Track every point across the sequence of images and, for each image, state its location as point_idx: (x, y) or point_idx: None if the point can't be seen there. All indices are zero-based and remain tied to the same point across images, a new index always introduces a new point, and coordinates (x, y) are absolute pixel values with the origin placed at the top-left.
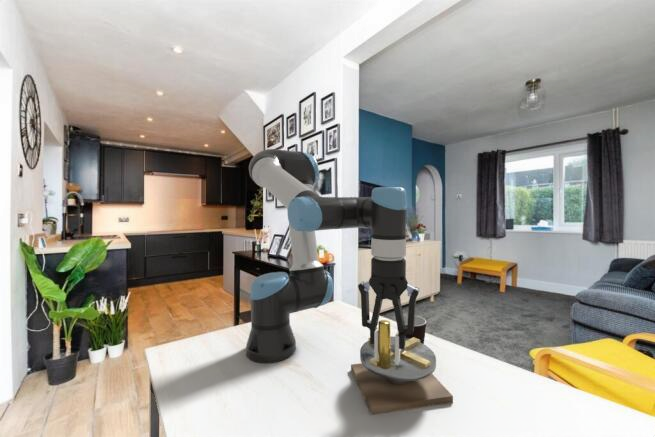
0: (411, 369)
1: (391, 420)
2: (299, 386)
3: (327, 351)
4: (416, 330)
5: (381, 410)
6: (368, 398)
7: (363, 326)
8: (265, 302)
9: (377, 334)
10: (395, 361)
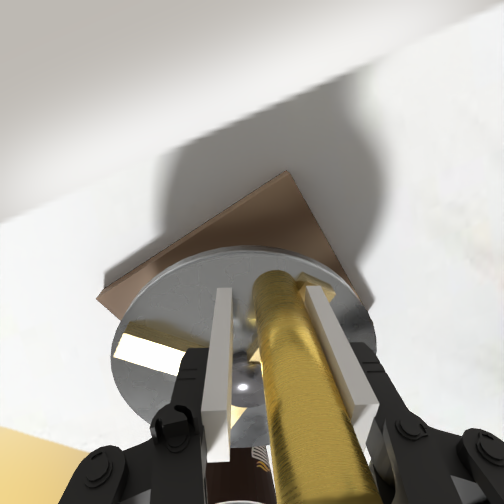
0: (176, 303)
1: (230, 169)
2: (501, 204)
3: (437, 358)
4: (210, 486)
5: (262, 188)
6: (304, 208)
7: (482, 430)
8: None
9: (351, 392)
10: (228, 296)
